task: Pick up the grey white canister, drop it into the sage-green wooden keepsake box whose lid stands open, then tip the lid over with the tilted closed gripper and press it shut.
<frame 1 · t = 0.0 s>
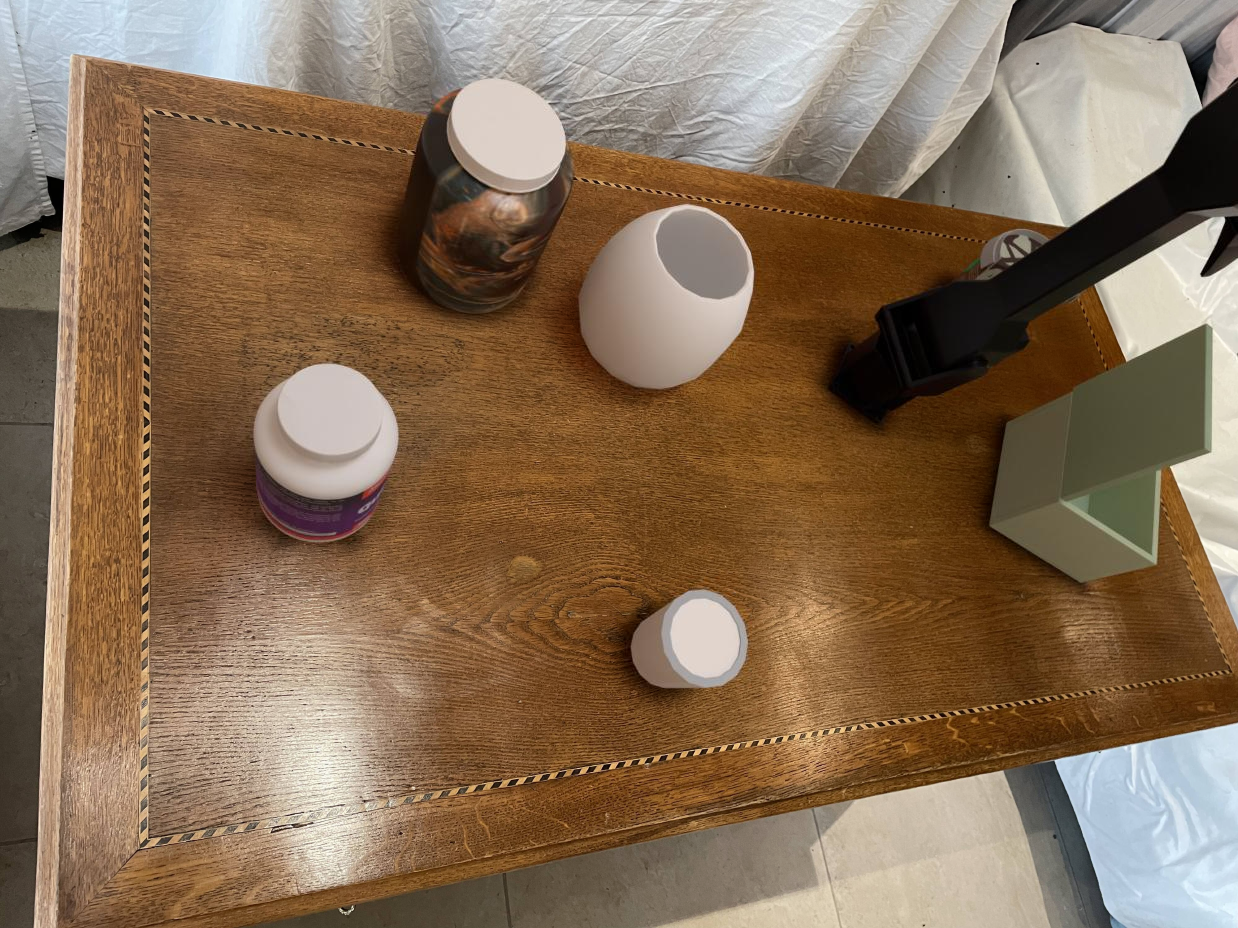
hand: (1222, 314, 80), 15 cm above the table, tool pointing down, fingers open, 9 cm apart
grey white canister: (662, 650, 61), on the table
pill bottle: (319, 491, 56), on the table
jar: (464, 254, 67), on the table
chest: (1042, 500, 84), on the table
cup: (632, 339, 71), on the table
food container: (964, 302, 90), on the table
lid: (1133, 415, 69), point 15 cm above the table, hinge at 90.0°
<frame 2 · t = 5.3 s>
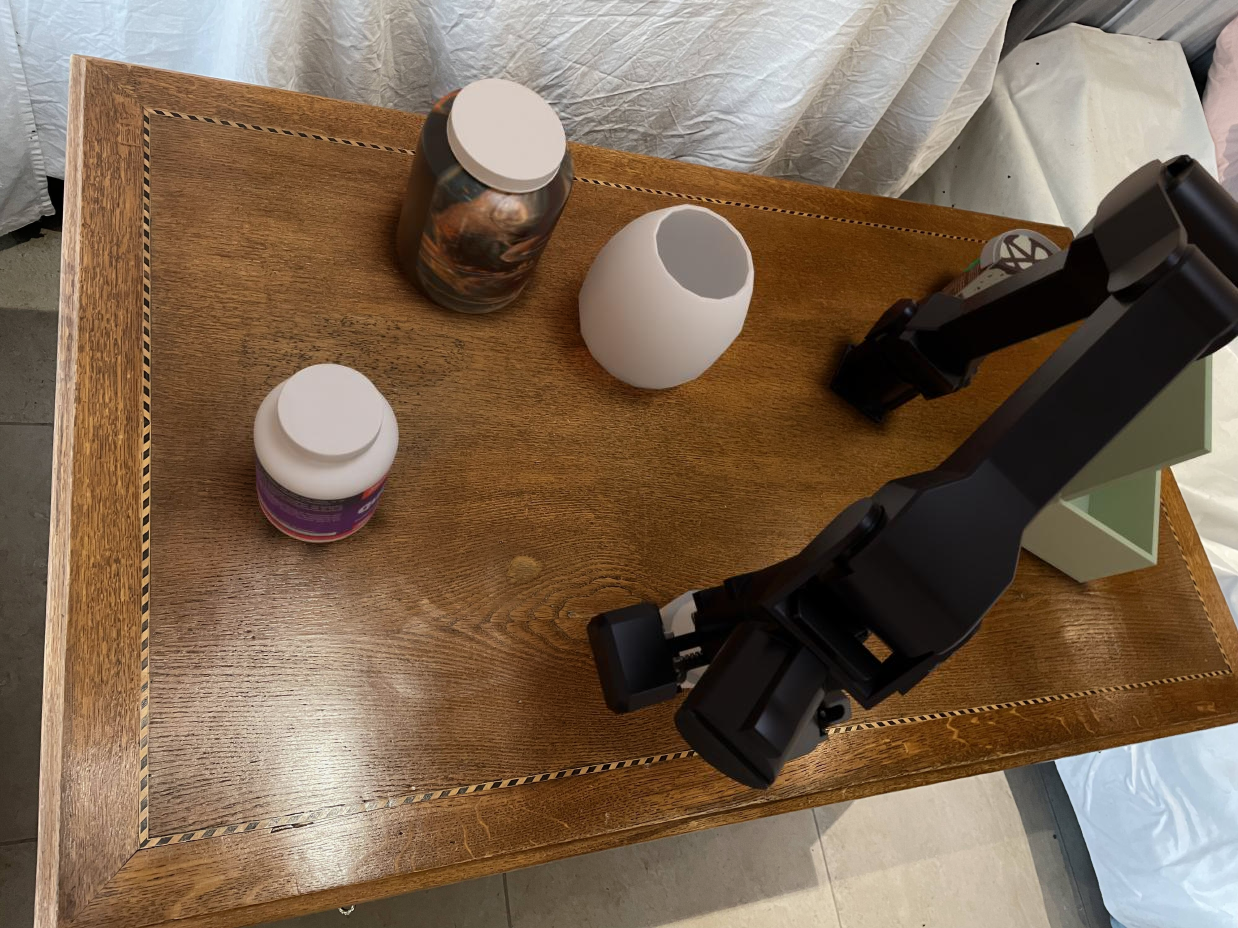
hand: (672, 647, 60), 2 cm above the table, tool pointing down, fingers closed on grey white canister, 6 cm apart
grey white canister: (663, 650, 61), on the table, touching gripper
everything else where it was.
when the fingers open (8 cm above the table, at t = 17.6 s): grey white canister drops 6 cm, resting on chest.
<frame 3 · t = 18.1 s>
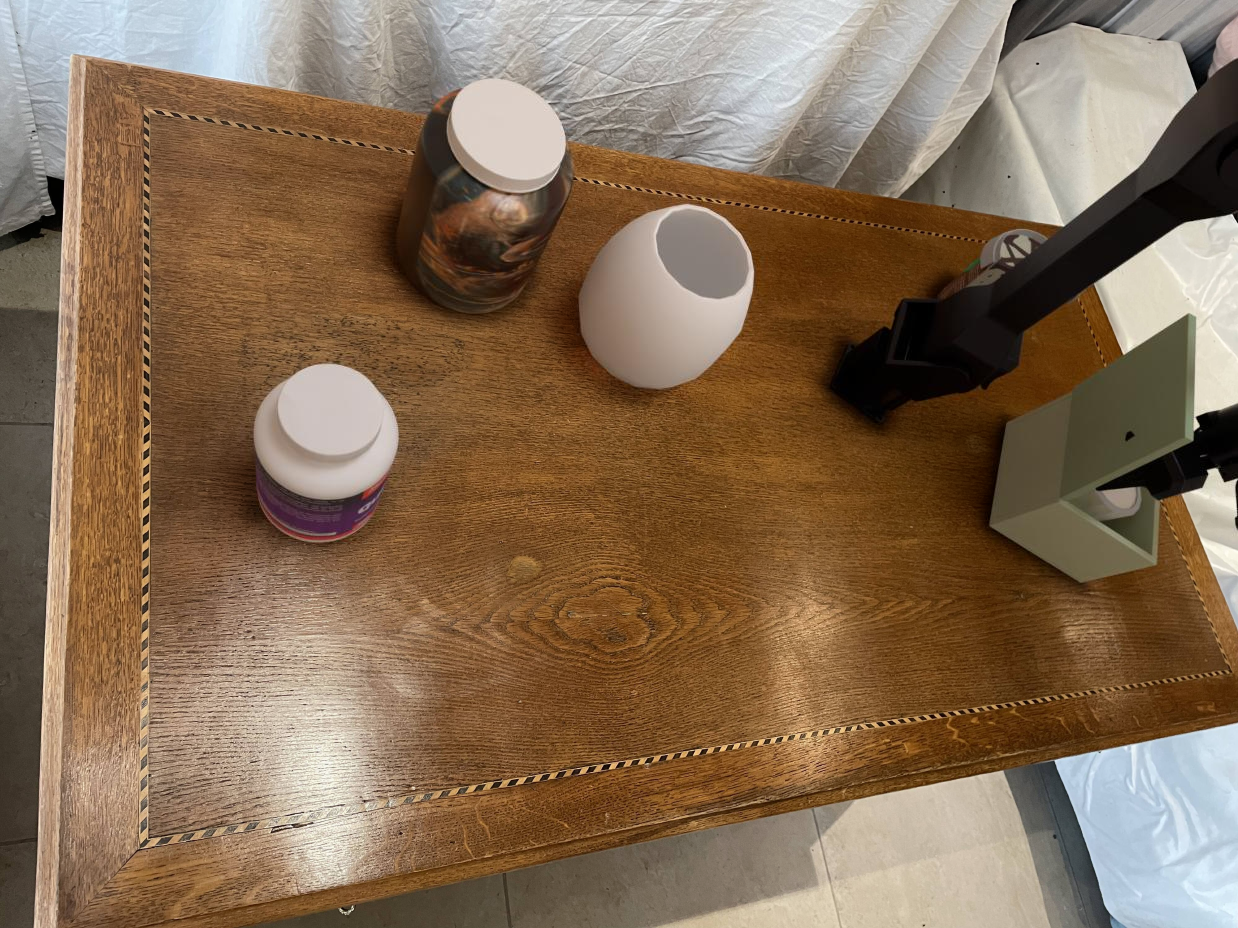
hand: (1124, 478, 76), 8 cm above the table, tool pointing down, fingers open, 9 cm apart
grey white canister: (1054, 503, 83), point 1 cm above the table, touching chest
lid: (1125, 410, 69), point 15 cm above the table, hinge at 98.1°, touching gripper
everything else where it was.
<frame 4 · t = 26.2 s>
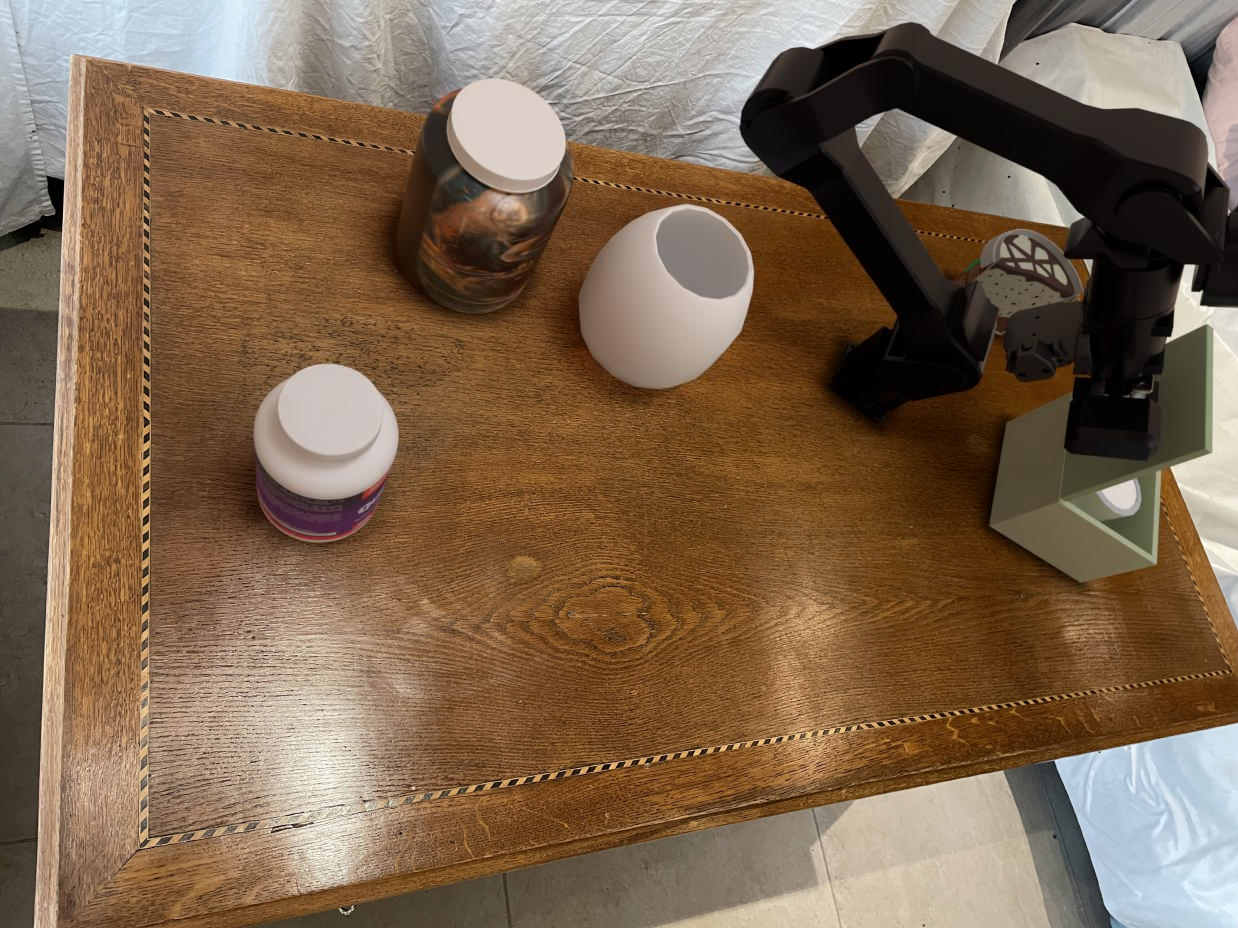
hand: (1106, 425, 71), 13 cm above the table, tool tilted 45°, fingers closed, pressing on lid
lid: (1134, 416, 69), point 15 cm above the table, hinge at 89.5°, touching gripper
everything else where it was.
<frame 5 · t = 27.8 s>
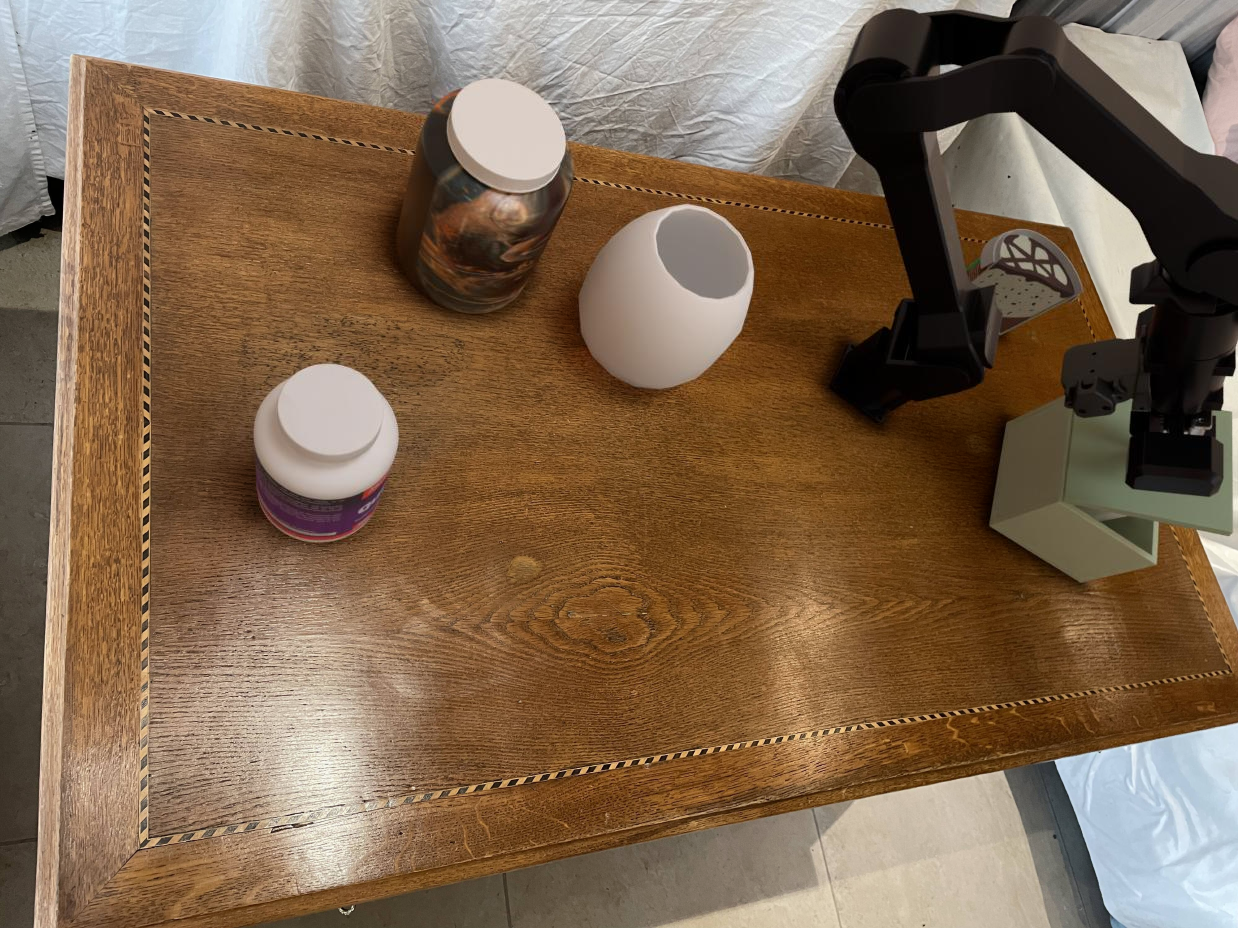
hand: (1159, 454, 72), 13 cm above the table, tool tilted 45°, fingers closed
lid: (1147, 456, 73), point 12 cm above the table, hinge at 34.8°, touching gripper
everything else where it was.
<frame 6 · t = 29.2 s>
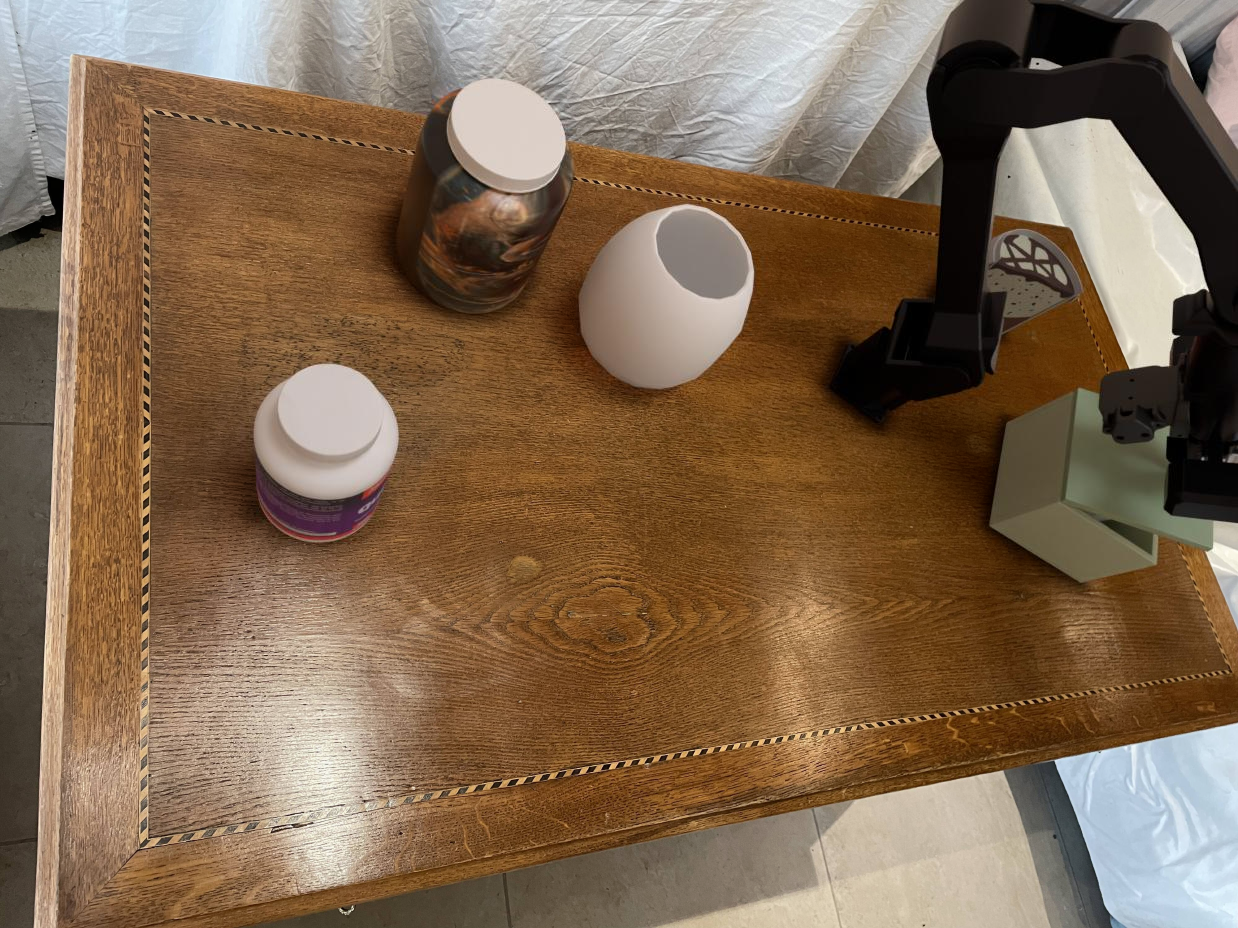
hand: (1192, 478, 73), 13 cm above the table, tool tilted 45°, fingers closed, pressing on lid
lid: (1139, 465, 74), point 11 cm above the table, hinge at 21.0°, touching gripper
everything else where it was.
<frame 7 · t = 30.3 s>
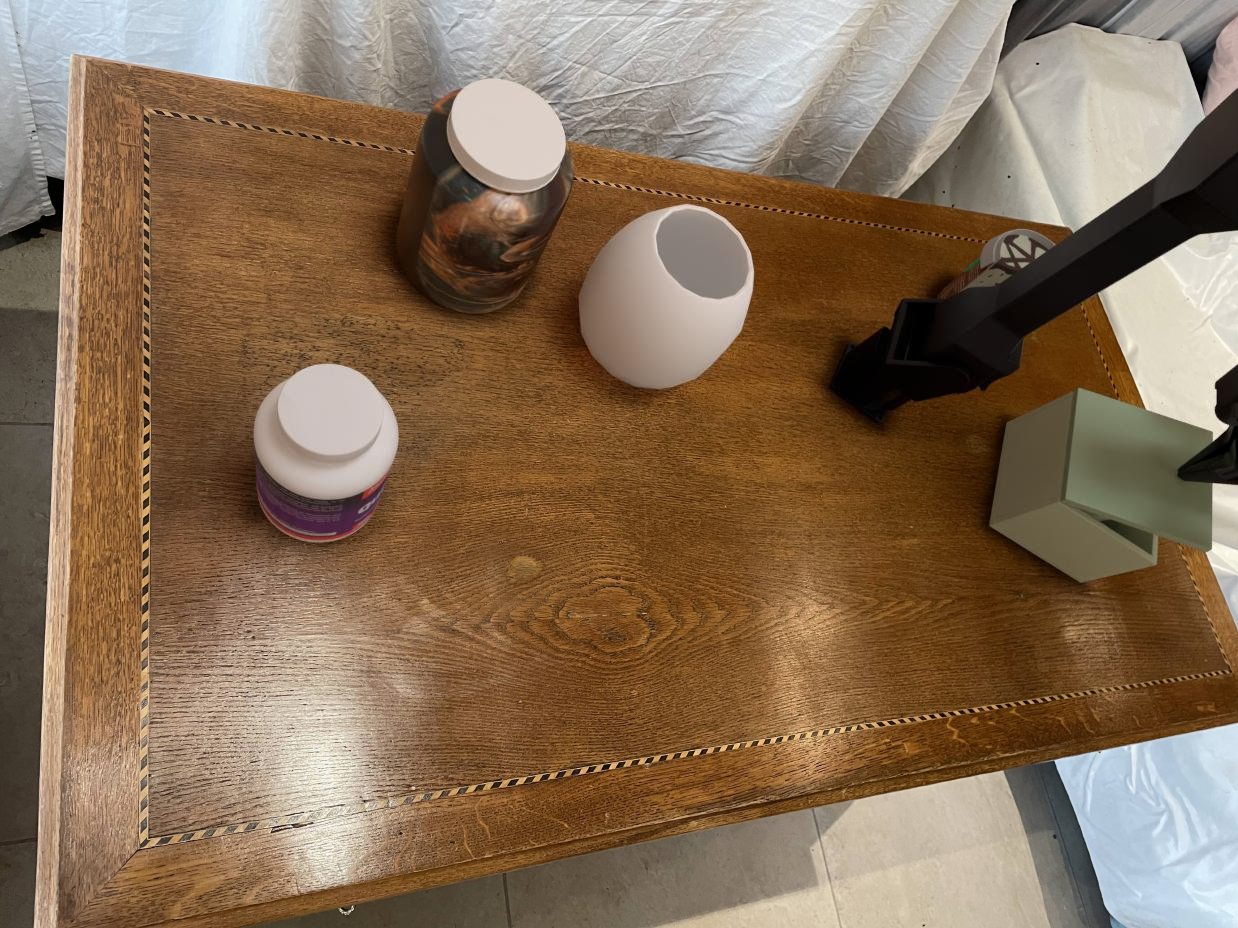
hand: (1180, 475, 73), 13 cm above the table, tool pointing down, fingers closed, pressing on lid
lid: (1139, 465, 74), point 11 cm above the table, hinge at 20.3°, touching gripper
everything else where it was.
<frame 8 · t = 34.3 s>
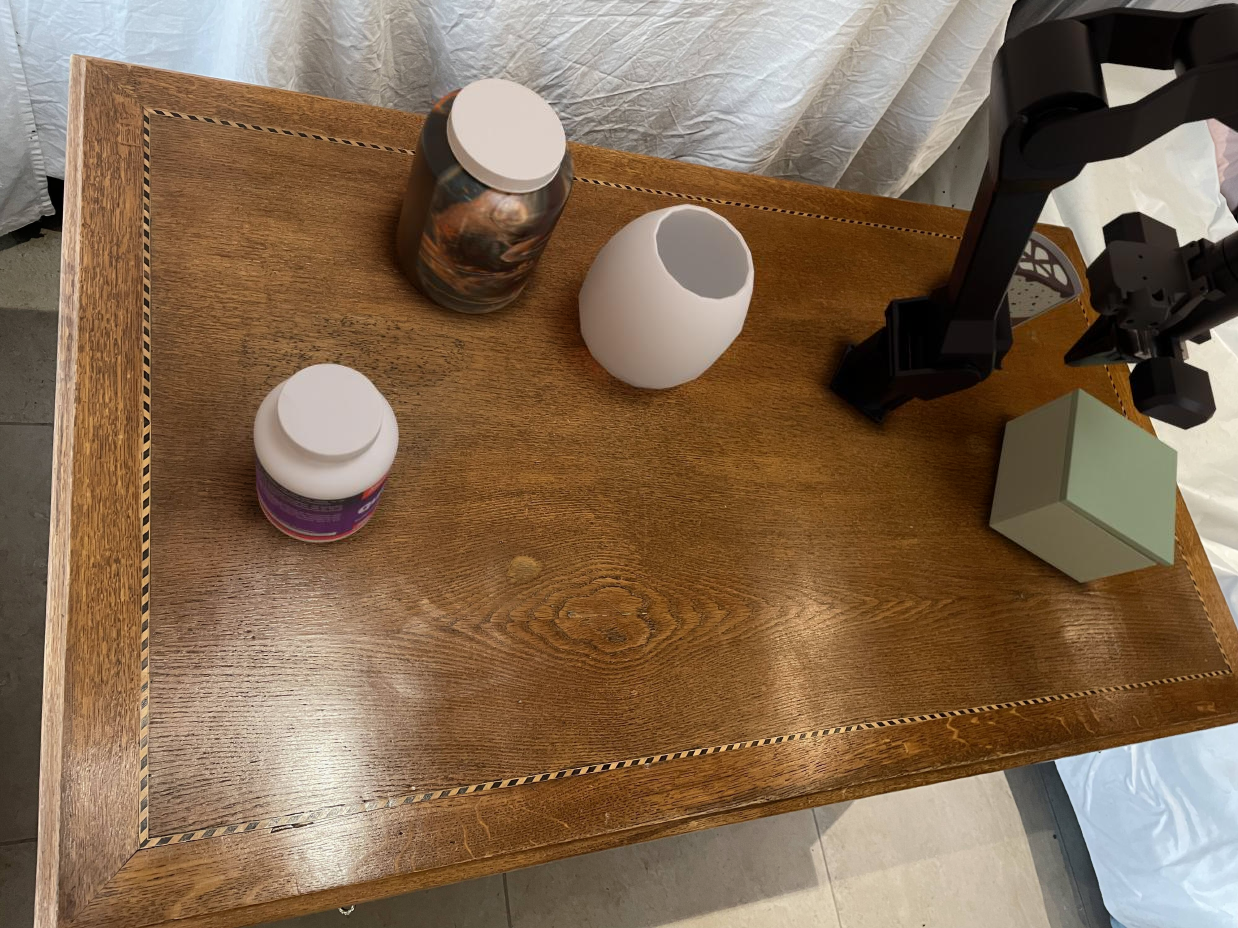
hand: (1067, 362, 72), 13 cm above the table, tool pointing down, fingers closed
lid: (1121, 475, 76), point 9 cm above the table, hinge at 1.5°
everything else where it was.
at the end: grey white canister inside the target area in the chest (1.1 cm from its centre), point 0.5 cm above the chest's base; lid at +2° (first picture: +90°) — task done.
